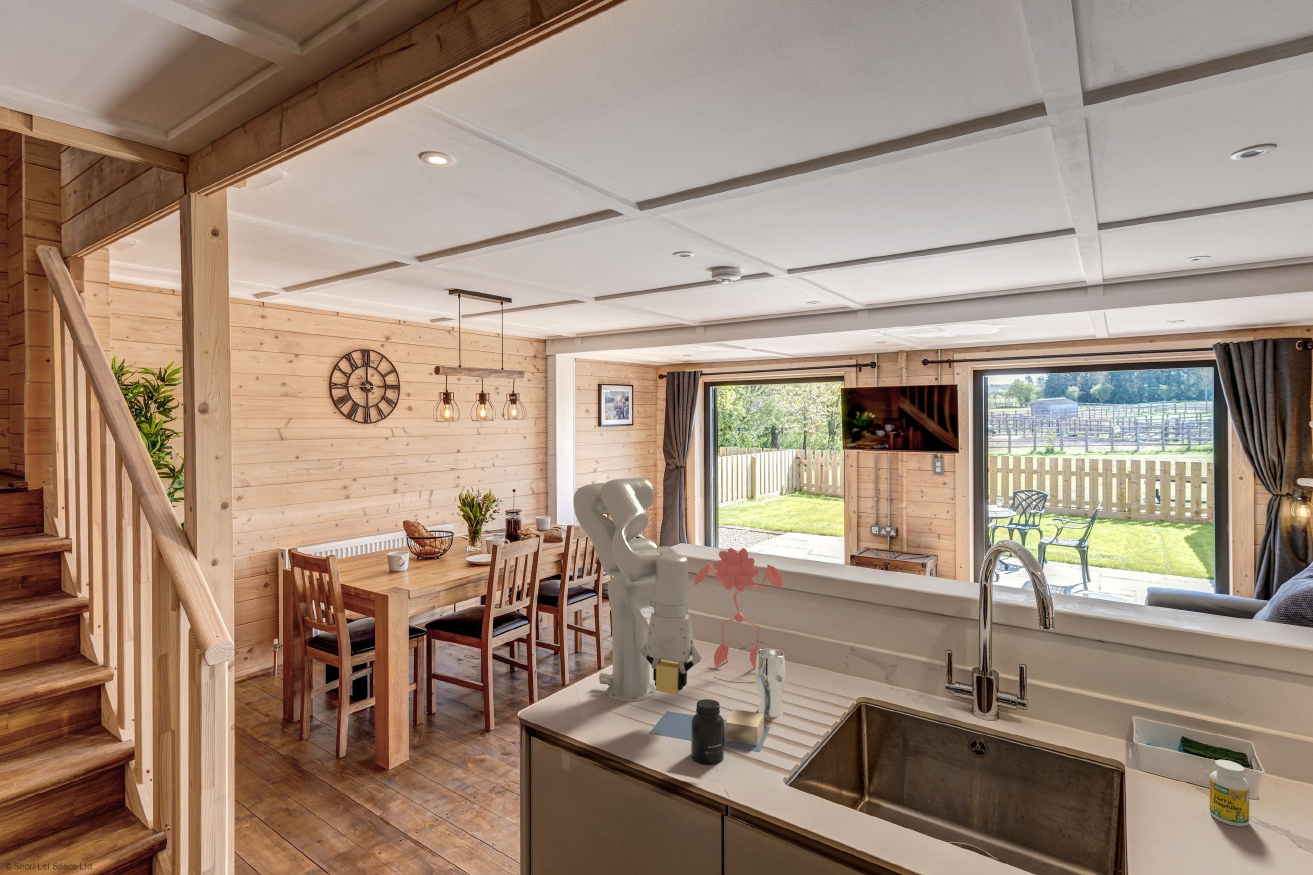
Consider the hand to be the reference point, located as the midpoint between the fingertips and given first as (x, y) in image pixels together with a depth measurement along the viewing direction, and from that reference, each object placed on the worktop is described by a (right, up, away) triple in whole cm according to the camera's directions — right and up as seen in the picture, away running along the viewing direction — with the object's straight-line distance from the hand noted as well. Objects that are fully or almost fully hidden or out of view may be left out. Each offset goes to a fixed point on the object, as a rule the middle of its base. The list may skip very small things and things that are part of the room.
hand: (669, 684), depth 156 cm
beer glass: (+24, -9, +6) cm, 27 cm away
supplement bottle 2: (+98, -10, -37) cm, 105 cm away
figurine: (+19, -9, +33) cm, 39 cm away
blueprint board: (+9, -10, -4) cm, 14 cm away
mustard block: (0, -1, 0) cm, 1 cm away
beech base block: (+17, -9, -7) cm, 20 cm away
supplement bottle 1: (+8, -10, -15) cm, 20 cm away
